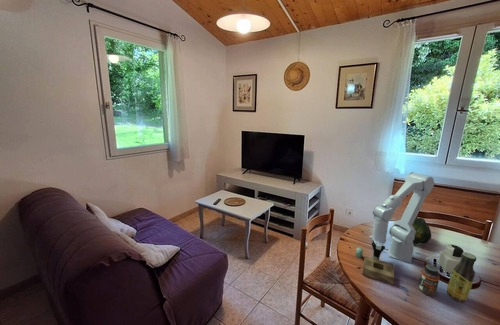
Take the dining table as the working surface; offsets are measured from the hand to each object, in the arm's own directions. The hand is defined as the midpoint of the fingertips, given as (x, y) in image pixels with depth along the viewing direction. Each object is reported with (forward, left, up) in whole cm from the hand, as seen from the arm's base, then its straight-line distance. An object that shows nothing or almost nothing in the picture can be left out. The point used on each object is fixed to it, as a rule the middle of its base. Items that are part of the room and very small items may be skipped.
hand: (376, 254), depth 111 cm
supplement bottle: (-19, +11, -4) cm, 22 cm away
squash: (-19, -32, -4) cm, 37 cm away
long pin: (0, 0, -2) cm, 2 cm away
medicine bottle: (-31, -11, -4) cm, 33 cm away
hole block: (-1, +9, -4) cm, 10 cm away
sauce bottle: (-29, +9, -4) cm, 31 cm away
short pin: (+8, 0, -4) cm, 8 cm away
